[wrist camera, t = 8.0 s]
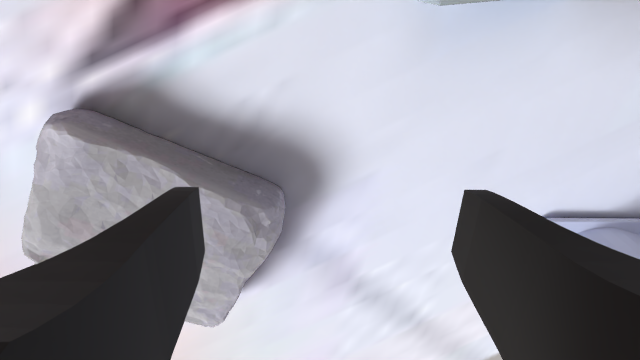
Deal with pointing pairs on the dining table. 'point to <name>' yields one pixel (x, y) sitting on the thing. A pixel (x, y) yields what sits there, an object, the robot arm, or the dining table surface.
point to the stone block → (148, 200)
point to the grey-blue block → (452, 1)
